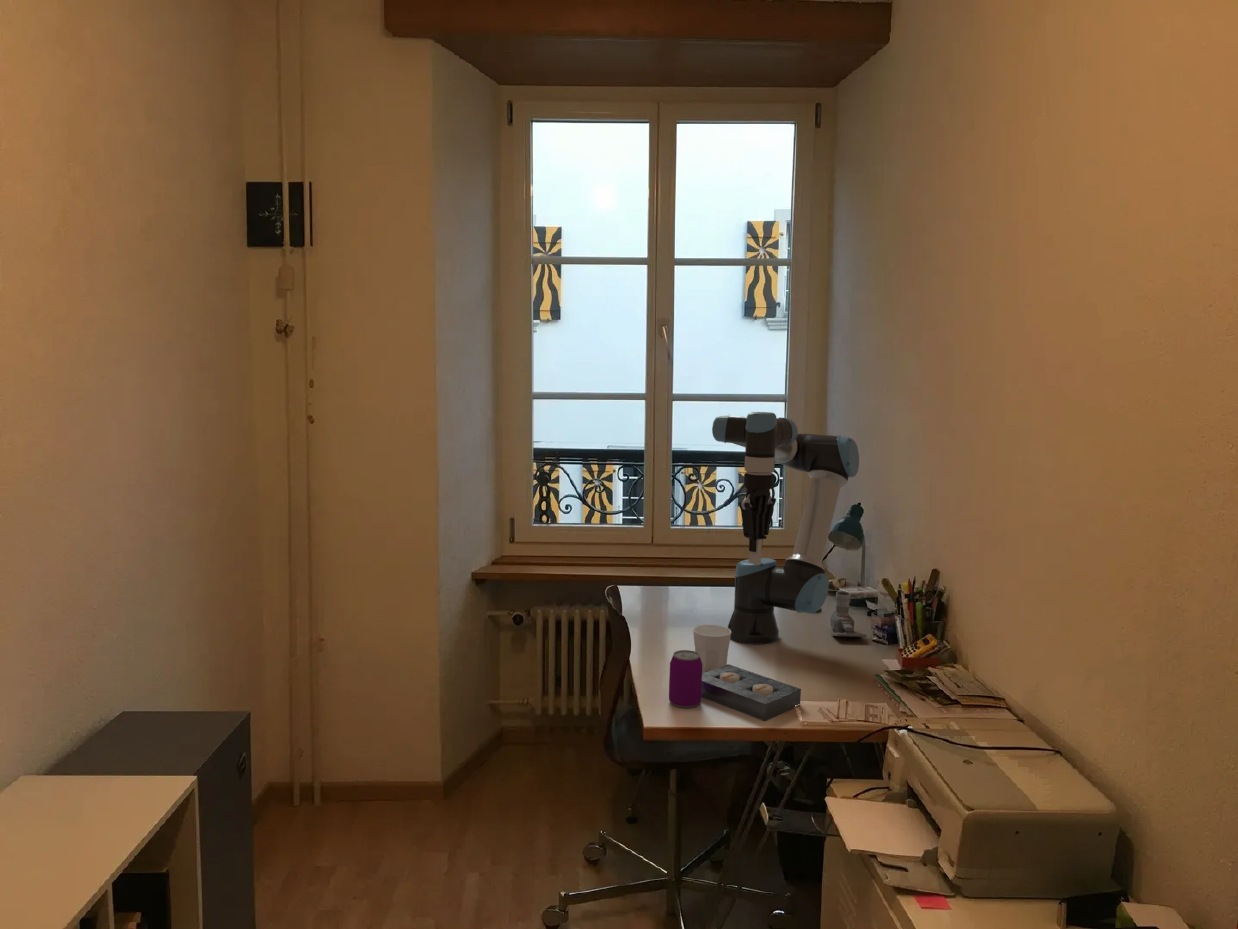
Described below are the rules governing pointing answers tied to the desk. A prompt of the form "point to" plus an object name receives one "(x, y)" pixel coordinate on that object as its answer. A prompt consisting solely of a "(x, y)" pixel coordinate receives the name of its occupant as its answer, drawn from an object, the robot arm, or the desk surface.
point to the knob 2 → (763, 689)
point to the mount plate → (749, 693)
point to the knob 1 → (729, 677)
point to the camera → (843, 617)
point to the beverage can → (685, 679)
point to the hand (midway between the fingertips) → (754, 563)
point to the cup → (712, 645)
